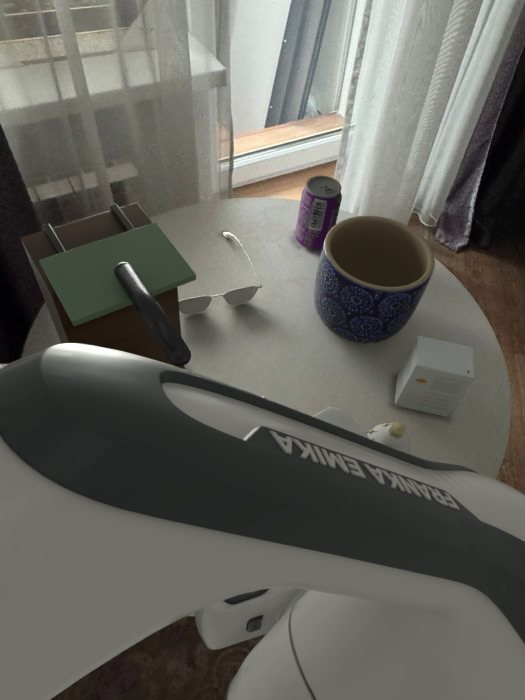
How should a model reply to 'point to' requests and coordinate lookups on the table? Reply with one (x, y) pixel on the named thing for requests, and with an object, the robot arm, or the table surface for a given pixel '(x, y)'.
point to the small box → (434, 376)
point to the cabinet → (113, 328)
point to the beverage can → (318, 210)
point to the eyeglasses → (230, 297)
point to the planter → (371, 277)
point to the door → (123, 281)
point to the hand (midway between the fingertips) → (210, 425)
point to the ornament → (391, 436)
